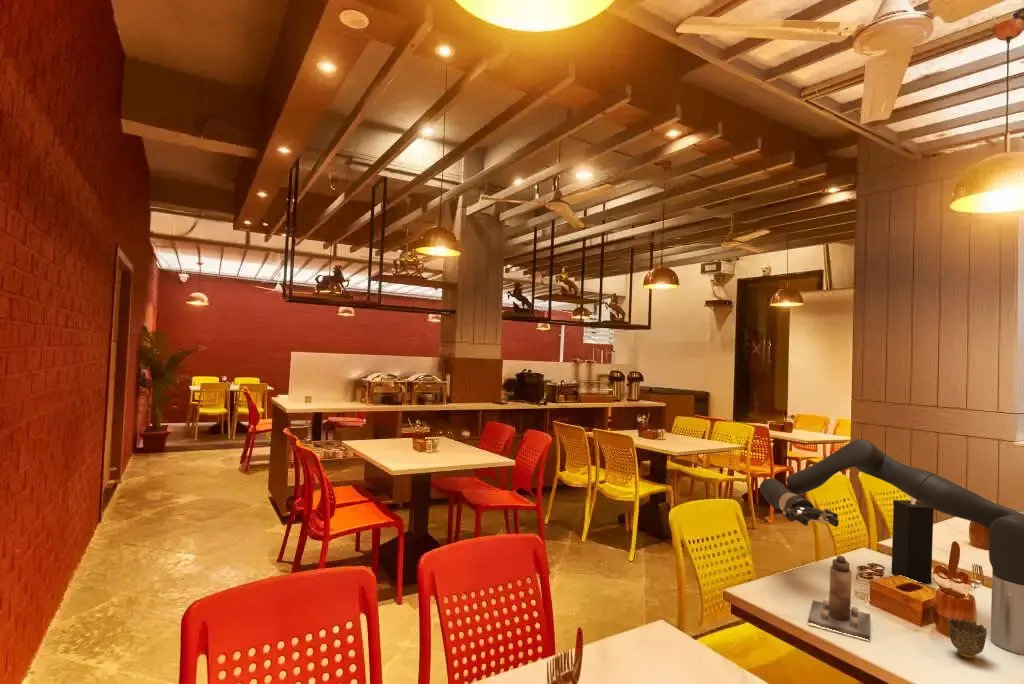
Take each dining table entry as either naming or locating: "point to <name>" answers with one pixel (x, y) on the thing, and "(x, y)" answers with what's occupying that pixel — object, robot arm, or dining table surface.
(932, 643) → the dining table surface
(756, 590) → the dining table surface
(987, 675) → the dining table surface
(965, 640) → the cup
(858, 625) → the board
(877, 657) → the dining table surface
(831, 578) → the pepper mill
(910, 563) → the tissue box
